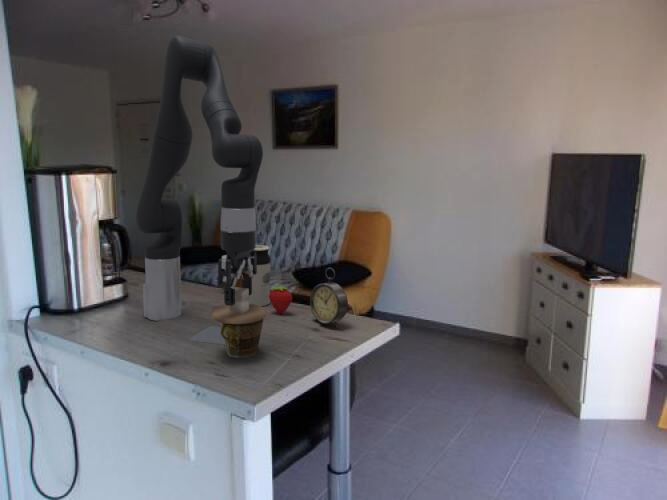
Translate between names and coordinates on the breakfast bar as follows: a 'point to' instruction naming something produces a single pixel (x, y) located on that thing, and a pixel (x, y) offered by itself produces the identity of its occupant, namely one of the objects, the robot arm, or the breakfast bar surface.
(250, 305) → the lid
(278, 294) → the strawberry
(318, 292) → the alarm clock
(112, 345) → the breakfast bar surface
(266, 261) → the travel mug
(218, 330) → the mat
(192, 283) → the breakfast bar surface
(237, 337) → the ceramic cup
